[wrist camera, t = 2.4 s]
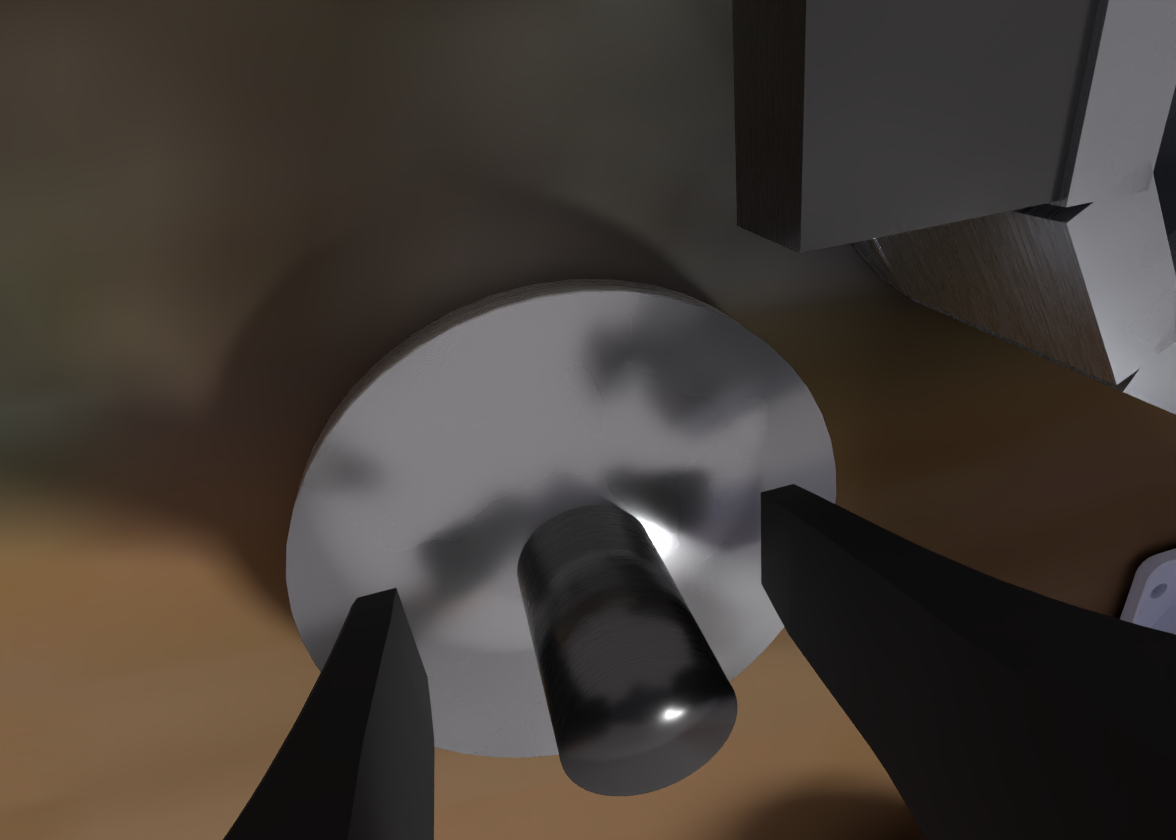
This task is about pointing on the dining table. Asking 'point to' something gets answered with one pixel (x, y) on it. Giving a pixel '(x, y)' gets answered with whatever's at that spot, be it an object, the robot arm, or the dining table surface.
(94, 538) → the dining table surface
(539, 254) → the dining table surface
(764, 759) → the dining table surface
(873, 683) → the robot arm
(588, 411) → the lid
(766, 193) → the pot
